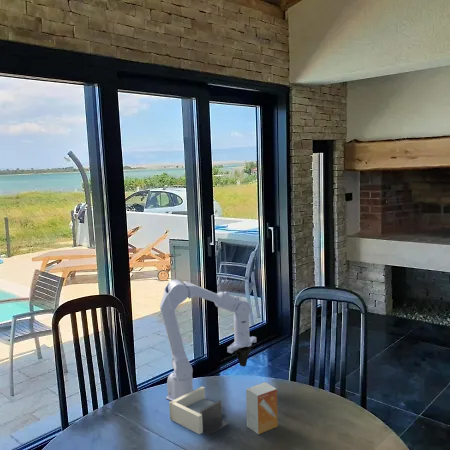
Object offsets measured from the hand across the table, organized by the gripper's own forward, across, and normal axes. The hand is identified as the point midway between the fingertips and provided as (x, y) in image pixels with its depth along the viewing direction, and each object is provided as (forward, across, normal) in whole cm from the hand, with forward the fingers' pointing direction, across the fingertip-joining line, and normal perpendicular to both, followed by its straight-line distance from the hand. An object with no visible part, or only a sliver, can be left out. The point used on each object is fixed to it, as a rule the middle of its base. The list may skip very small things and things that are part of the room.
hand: (242, 365), depth 176 cm
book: (+10, -24, -1) cm, 26 cm away
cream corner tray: (+9, -24, -2) cm, 26 cm away
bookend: (+9, -26, -10) cm, 30 cm away
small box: (+10, -16, -22) cm, 29 cm away
